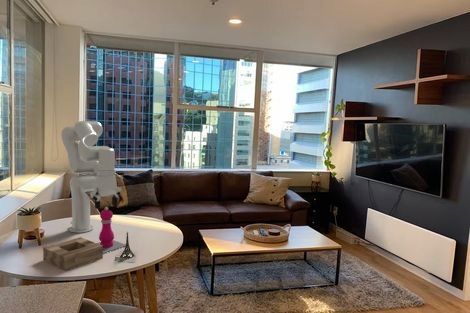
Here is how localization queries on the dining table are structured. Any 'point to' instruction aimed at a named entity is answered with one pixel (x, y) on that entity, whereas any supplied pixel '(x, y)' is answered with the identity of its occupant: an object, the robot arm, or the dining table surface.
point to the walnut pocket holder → (72, 253)
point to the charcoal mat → (115, 246)
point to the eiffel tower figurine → (126, 252)
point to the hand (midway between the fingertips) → (106, 206)
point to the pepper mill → (106, 228)
